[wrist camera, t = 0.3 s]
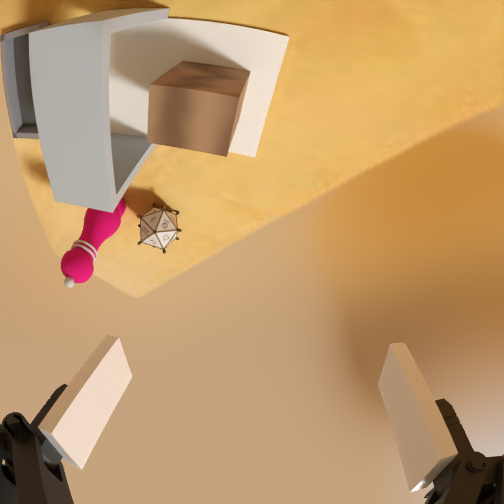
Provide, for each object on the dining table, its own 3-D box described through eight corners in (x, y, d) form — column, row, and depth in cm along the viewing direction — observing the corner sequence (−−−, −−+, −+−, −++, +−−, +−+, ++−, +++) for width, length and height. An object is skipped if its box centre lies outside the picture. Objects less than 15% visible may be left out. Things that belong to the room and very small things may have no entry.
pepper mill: (90, 193, 50) (41, 274, 37) (116, 184, 48) (65, 271, 35) (109, 218, 55) (69, 299, 42) (134, 212, 53) (94, 298, 40)
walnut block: (250, 71, 31) (239, 97, 24) (239, 117, 37) (226, 156, 30) (182, 60, 30) (149, 84, 23) (177, 106, 36) (147, 142, 29)
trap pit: (49, 21, 23) (39, 24, 21) (56, 132, 39) (48, 139, 37) (10, 31, 22) (0, 35, 20) (21, 131, 38) (13, 137, 36)
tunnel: (292, 26, 26) (299, 40, 16) (253, 163, 43) (240, 239, 33) (100, 10, 24) (19, 35, 13) (100, 137, 40) (47, 199, 30)
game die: (163, 204, 56) (124, 233, 52) (166, 184, 48) (120, 217, 44) (191, 236, 56) (153, 269, 52) (198, 221, 49) (153, 258, 44)
